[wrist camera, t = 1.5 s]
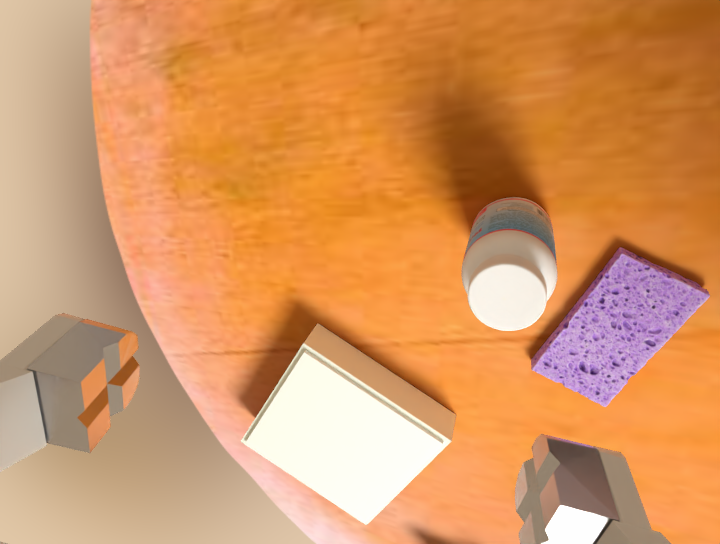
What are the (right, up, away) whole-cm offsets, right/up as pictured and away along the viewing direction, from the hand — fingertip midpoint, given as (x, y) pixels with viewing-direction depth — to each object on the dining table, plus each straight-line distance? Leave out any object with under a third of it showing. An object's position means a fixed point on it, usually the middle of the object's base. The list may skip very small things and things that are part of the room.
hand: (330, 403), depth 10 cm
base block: (-1, -12, +43) cm, 45 cm away
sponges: (+21, -2, +32) cm, 38 cm away
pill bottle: (+13, +6, +31) cm, 34 cm away
